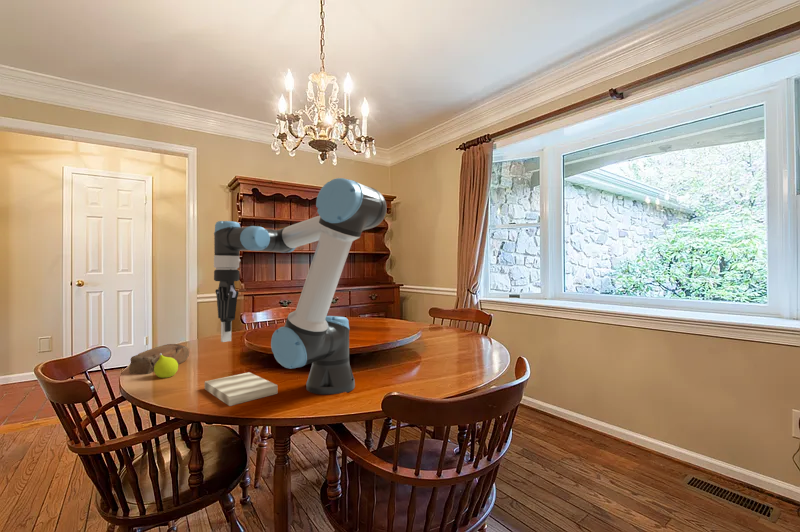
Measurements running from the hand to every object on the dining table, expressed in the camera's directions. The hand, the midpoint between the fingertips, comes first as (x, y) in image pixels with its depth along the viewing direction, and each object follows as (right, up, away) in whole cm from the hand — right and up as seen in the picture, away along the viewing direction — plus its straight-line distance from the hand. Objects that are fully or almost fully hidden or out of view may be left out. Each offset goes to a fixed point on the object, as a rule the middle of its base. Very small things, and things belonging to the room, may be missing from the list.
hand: (226, 341), depth 120 cm
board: (+8, -14, -8) cm, 18 cm away
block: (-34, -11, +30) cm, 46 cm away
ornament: (-24, -14, +7) cm, 29 cm away
